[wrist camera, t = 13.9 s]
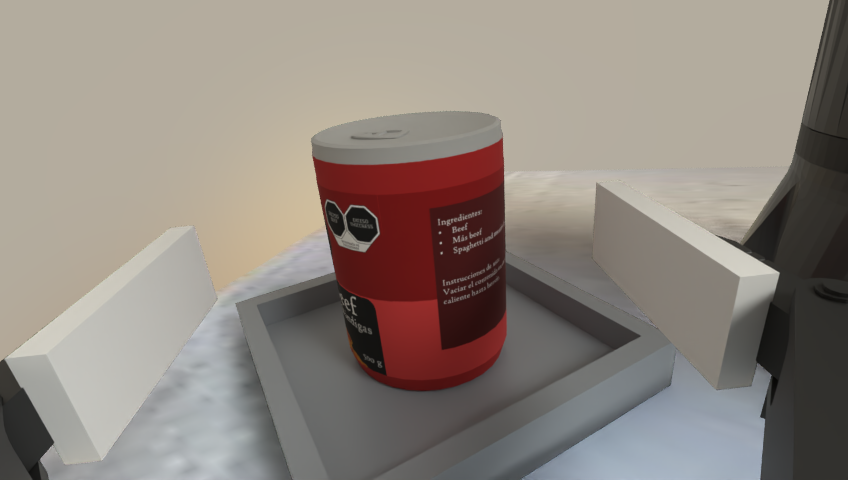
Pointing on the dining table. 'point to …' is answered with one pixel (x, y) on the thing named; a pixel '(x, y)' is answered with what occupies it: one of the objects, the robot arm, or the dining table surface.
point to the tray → (456, 406)
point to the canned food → (418, 243)
